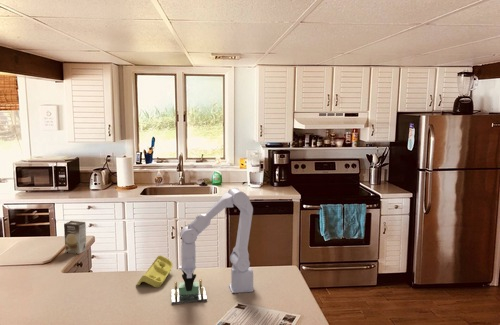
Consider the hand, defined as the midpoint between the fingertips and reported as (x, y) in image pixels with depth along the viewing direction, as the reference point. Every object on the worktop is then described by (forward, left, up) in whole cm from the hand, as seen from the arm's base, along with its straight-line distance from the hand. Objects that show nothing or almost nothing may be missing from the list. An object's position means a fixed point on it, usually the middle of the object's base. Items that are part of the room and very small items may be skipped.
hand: (188, 287), depth 155 cm
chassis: (0, 0, -4) cm, 4 cm away
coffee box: (+58, -62, -4) cm, 85 cm away
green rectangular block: (0, 0, -2) cm, 2 cm away
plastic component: (+14, -20, -4) cm, 24 cm away
